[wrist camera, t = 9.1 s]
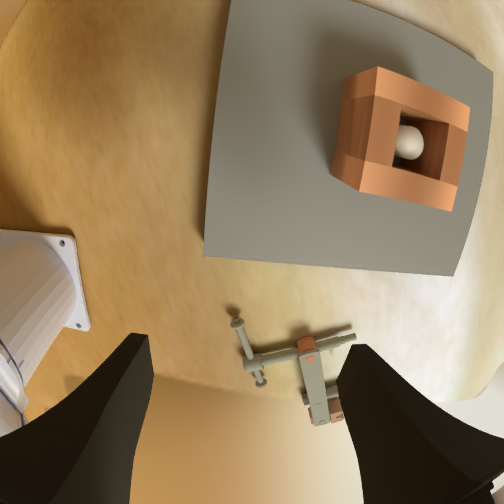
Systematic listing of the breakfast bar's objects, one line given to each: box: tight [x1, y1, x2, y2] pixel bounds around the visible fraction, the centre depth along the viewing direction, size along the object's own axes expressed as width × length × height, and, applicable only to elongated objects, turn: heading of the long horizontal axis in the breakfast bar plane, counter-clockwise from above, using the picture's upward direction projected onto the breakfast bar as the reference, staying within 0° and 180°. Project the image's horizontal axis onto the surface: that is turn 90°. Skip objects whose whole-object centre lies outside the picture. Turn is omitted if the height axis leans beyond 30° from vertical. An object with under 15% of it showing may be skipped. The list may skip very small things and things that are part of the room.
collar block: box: [330, 66, 470, 212], centre depth 12 cm, size 5×5×4 cm
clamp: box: [231, 318, 357, 426], centre depth 22 cm, size 15×2×10 cm
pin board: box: [203, 0, 493, 276], centre depth 13 cm, size 18×16×4 cm
